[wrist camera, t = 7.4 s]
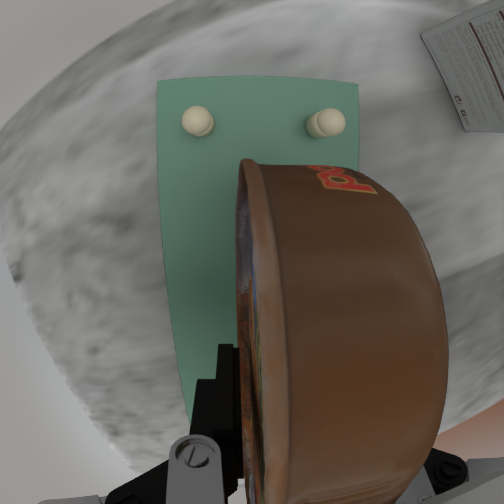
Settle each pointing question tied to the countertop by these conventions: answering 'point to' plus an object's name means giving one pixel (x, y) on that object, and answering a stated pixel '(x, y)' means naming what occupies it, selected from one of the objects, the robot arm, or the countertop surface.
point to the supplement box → (473, 64)
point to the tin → (334, 337)
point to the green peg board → (231, 187)
